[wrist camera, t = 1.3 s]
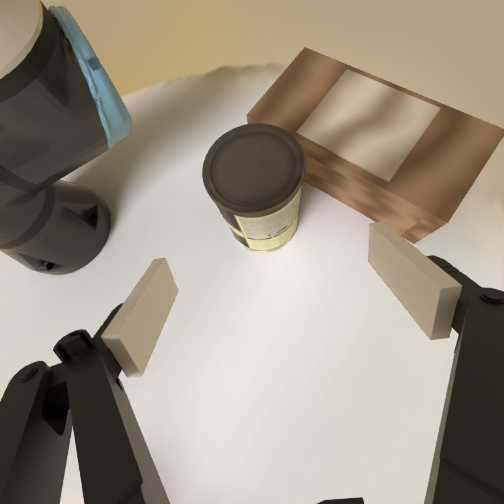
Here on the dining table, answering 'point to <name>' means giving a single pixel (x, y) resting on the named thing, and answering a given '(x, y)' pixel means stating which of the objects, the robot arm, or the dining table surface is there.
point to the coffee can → (257, 184)
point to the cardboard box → (378, 142)
